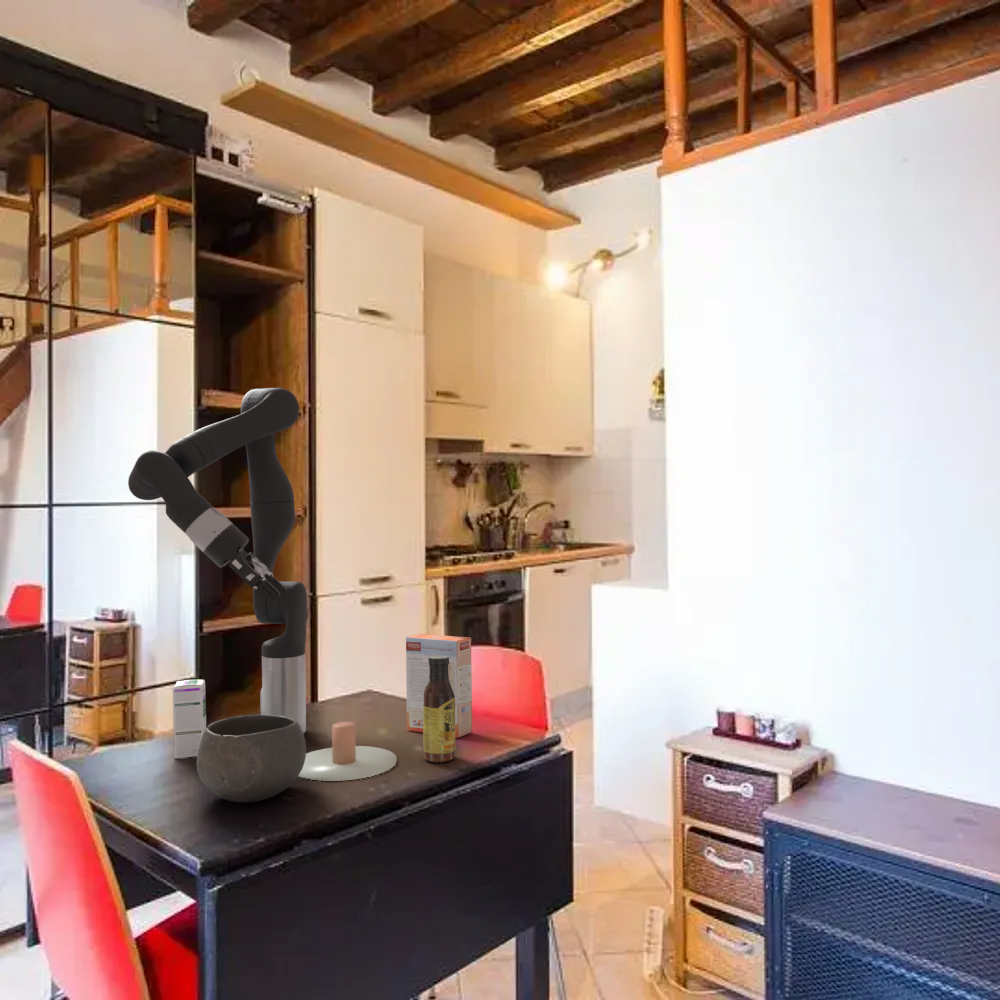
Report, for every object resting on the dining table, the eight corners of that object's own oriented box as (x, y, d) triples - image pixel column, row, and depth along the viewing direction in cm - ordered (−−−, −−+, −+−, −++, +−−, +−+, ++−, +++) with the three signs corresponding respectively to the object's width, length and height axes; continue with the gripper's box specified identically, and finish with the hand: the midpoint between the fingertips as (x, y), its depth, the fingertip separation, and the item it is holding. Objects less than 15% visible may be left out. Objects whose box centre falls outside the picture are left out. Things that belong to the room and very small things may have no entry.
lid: (268, 769, 159) (268, 727, 159) (349, 745, 175) (349, 706, 175) (337, 791, 147) (336, 745, 147) (418, 762, 162) (417, 721, 162)
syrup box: (204, 756, 167) (203, 684, 167) (172, 759, 166) (172, 685, 166) (207, 748, 173) (206, 678, 173) (176, 751, 171) (175, 680, 171)
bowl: (173, 808, 138) (172, 731, 138) (242, 775, 155) (242, 706, 155) (264, 821, 132) (263, 741, 132) (326, 785, 149) (325, 714, 149)
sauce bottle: (450, 764, 160) (449, 660, 160) (419, 763, 161) (418, 659, 161) (459, 754, 166) (458, 654, 166) (429, 753, 167) (427, 653, 168)
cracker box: (473, 733, 182) (472, 636, 182) (457, 739, 177) (456, 640, 177) (422, 724, 190) (421, 632, 190) (405, 730, 184) (404, 635, 185)
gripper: (223, 523, 151) (289, 585, 152) (238, 521, 165) (298, 578, 166) (193, 553, 150) (260, 615, 151) (210, 549, 164) (271, 606, 166)
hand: (280, 596), depth 159 cm, fingers open, 8 cm apart
